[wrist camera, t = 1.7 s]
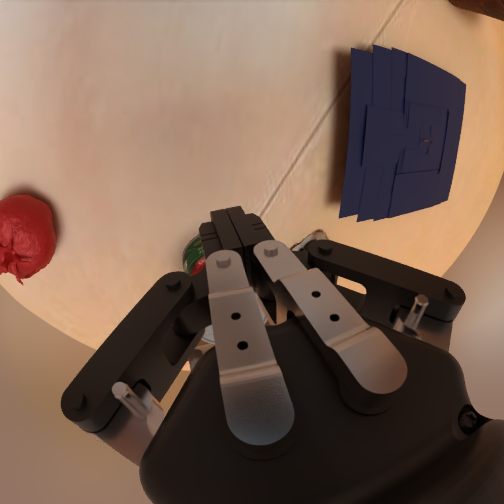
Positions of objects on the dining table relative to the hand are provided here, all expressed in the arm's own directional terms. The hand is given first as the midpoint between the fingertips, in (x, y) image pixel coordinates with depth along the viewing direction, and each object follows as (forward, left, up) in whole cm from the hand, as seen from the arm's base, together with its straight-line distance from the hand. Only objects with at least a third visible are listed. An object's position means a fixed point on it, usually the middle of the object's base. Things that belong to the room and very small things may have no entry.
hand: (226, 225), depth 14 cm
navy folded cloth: (0, +31, -17) cm, 35 cm away
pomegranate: (+3, -22, -17) cm, 28 cm away
